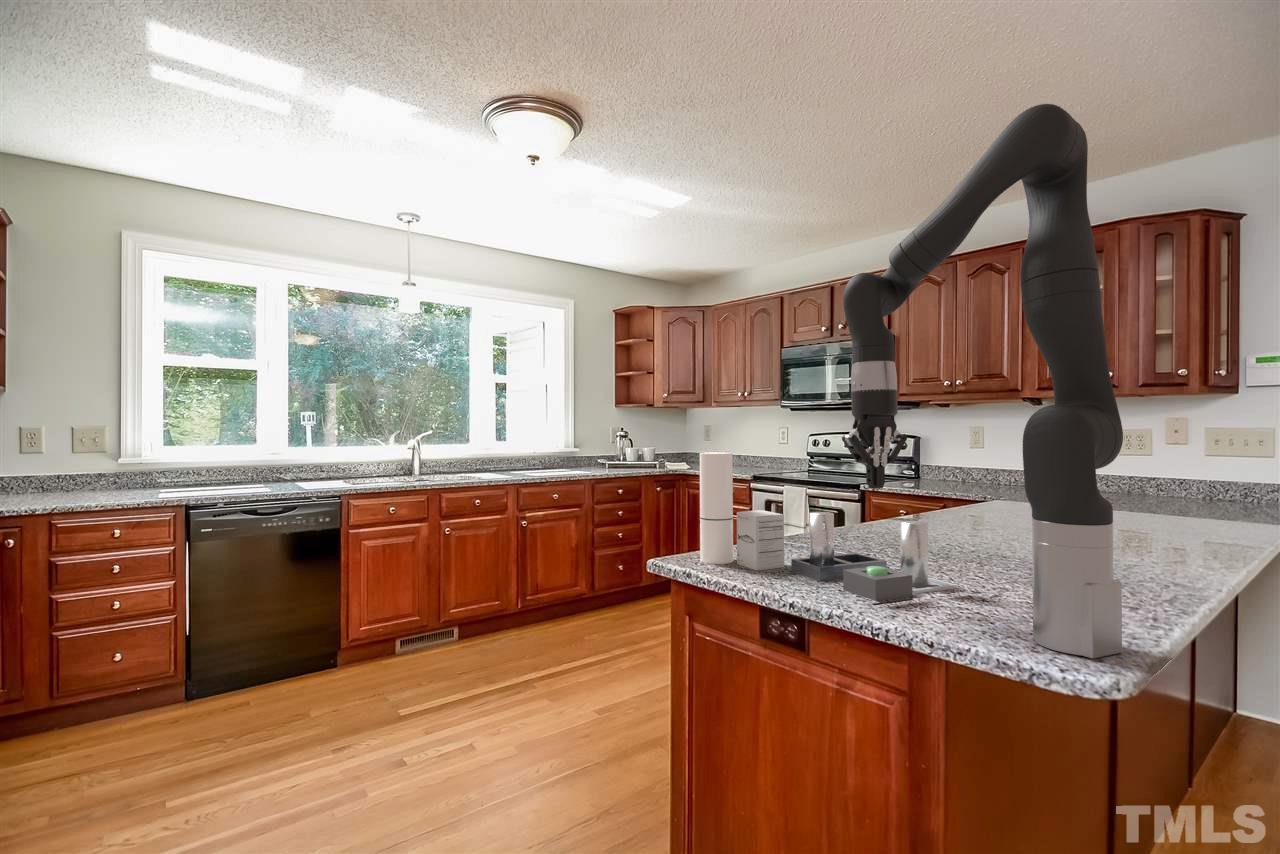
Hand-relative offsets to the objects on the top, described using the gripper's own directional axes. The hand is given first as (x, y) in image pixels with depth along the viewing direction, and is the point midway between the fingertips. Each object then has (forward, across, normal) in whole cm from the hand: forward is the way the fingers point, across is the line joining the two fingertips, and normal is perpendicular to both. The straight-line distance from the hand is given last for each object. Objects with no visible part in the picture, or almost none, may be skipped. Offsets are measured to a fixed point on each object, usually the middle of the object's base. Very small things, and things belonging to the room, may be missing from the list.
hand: (875, 488), depth 109 cm
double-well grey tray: (+20, +4, +15) cm, 25 cm away
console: (+20, 0, 0) cm, 20 cm away
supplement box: (+20, -6, +27) cm, 34 cm away
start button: (+17, 0, 0) cm, 17 cm away
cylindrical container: (+19, -12, +35) cm, 42 cm away
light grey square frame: (+20, +11, +2) cm, 22 cm away
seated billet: (+18, 0, +15) cm, 24 cm away
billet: (+19, +11, +2) cm, 22 cm away
